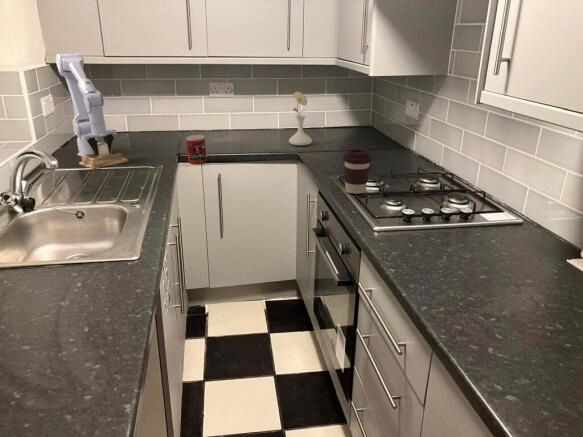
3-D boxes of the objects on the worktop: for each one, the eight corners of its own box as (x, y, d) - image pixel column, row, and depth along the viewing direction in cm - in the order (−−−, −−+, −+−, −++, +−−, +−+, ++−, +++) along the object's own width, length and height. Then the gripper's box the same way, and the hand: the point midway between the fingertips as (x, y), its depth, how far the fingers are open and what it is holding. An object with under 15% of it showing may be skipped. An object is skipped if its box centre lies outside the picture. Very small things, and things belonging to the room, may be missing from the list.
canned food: (189, 165, 199) (187, 139, 194) (188, 160, 206) (185, 135, 201) (207, 164, 201) (205, 138, 196) (205, 158, 208) (203, 134, 203)
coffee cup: (366, 187, 174) (369, 147, 167) (371, 196, 164) (374, 155, 158) (339, 187, 173) (341, 147, 167) (343, 197, 164) (345, 155, 158)
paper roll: (95, 157, 202) (92, 143, 199) (106, 155, 205) (103, 141, 202) (100, 160, 199) (98, 145, 196) (111, 157, 202) (109, 143, 199)
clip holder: (79, 164, 201) (78, 155, 199) (113, 156, 212) (112, 147, 210) (93, 169, 194) (92, 160, 192) (128, 161, 205) (127, 152, 203)
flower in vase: (315, 146, 227) (316, 93, 217) (294, 148, 223) (294, 94, 213) (305, 139, 238) (305, 89, 228) (284, 142, 234) (283, 90, 224)
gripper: (85, 126, 188) (91, 159, 194) (118, 120, 198) (123, 152, 204) (76, 124, 192) (83, 156, 198) (109, 118, 202) (114, 149, 208)
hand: (102, 153), depth 201 cm, fingers closed on paper roll, 5 cm apart
